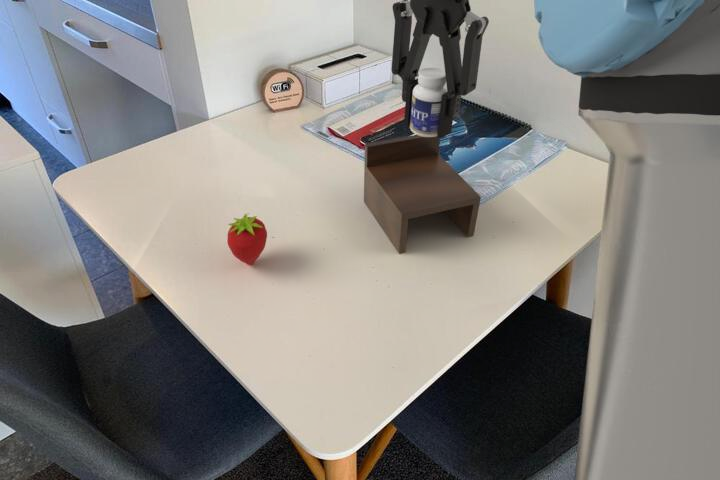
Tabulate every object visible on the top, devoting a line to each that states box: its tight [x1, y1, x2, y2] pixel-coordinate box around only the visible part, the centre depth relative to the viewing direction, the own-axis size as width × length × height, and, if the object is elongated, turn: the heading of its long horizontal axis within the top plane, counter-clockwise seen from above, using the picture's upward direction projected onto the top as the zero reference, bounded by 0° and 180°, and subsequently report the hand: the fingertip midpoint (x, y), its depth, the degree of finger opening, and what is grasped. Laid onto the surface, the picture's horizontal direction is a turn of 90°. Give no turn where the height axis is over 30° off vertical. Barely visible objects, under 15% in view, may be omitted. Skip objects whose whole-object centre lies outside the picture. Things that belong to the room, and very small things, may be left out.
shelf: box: [363, 134, 482, 254], centre depth 89 cm, size 16×14×12 cm
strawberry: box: [226, 212, 268, 266], centre depth 80 cm, size 6×8×10 cm
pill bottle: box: [409, 67, 447, 137], centre depth 76 cm, size 5×5×9 cm
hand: (427, 128), depth 79 cm, fingers closed on pill bottle, 5 cm apart
